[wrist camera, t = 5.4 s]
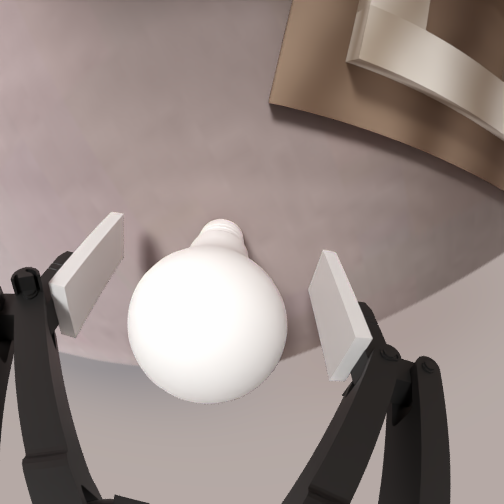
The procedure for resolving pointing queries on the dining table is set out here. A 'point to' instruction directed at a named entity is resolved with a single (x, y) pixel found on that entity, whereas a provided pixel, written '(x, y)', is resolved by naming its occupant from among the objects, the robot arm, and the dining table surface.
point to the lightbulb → (208, 319)
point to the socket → (403, 73)
